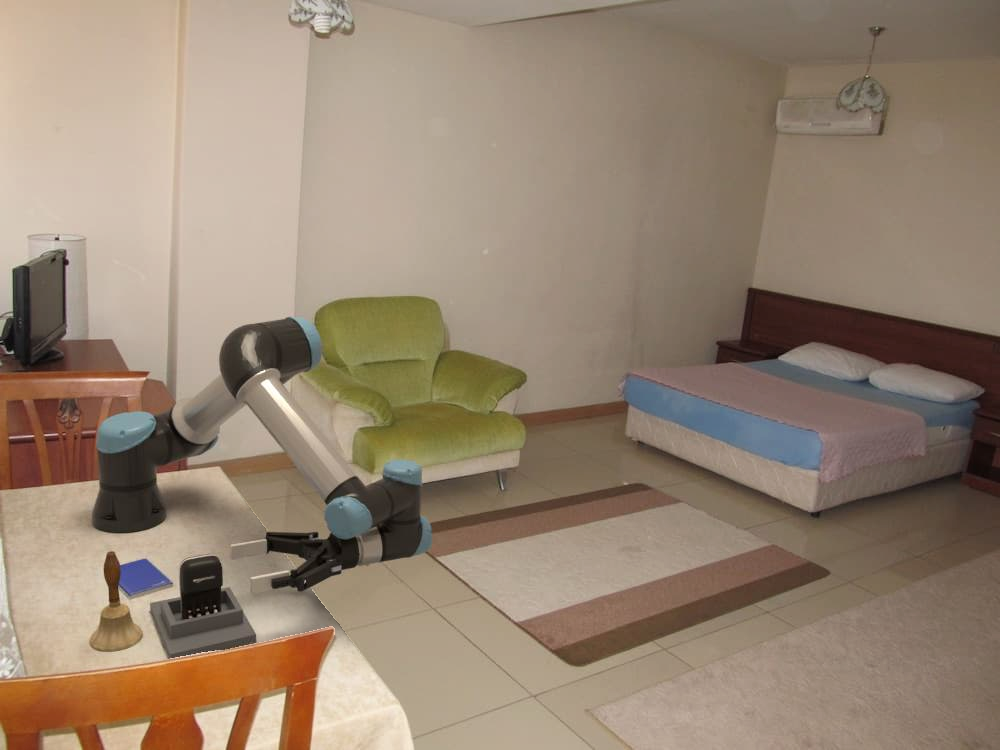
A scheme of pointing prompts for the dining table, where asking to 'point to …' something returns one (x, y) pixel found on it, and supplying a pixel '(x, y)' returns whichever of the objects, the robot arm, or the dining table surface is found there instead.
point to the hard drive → (142, 579)
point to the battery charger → (200, 585)
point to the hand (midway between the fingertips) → (240, 568)
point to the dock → (202, 627)
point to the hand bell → (115, 615)
